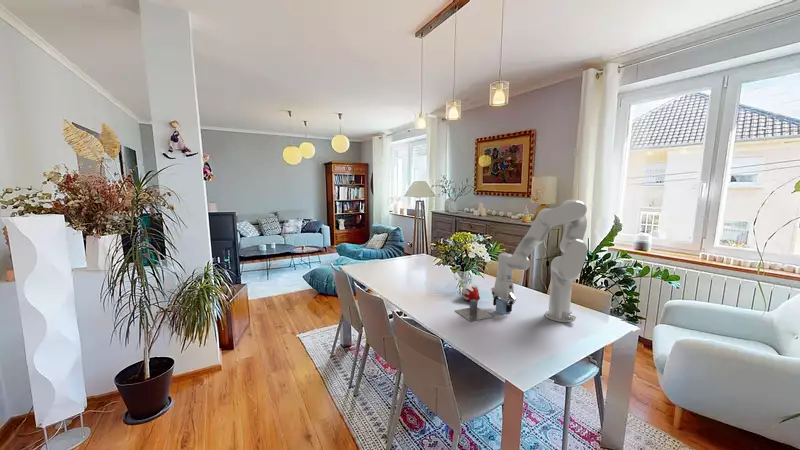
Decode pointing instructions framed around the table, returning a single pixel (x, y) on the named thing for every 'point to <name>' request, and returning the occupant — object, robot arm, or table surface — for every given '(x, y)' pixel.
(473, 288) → the red white rounded piece
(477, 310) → the square pedestal stand
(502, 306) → the blue-grey rectangular block
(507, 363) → the table surface
